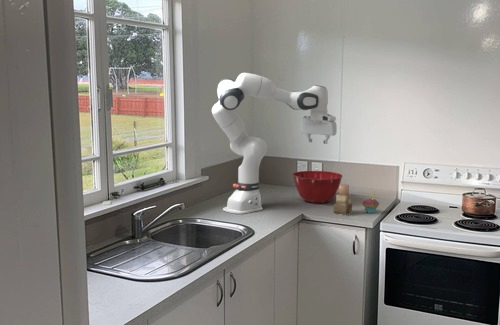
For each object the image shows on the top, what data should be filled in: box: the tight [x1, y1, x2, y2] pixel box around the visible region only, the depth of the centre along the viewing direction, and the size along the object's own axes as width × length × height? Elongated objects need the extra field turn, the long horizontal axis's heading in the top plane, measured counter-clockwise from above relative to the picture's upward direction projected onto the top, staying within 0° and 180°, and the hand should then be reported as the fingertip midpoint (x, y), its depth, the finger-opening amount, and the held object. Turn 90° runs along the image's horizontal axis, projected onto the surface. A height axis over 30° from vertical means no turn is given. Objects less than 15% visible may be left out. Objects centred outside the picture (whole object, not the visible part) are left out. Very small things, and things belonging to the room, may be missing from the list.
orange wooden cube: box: [338, 183, 350, 196], centre depth 268 cm, size 5×5×5 cm
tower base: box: [333, 203, 353, 216], centre depth 269 cm, size 7×7×5 cm
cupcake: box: [361, 190, 380, 214], centre depth 271 cm, size 9×8×12 cm
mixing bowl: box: [292, 170, 343, 204], centre depth 297 cm, size 28×28×15 cm
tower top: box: [335, 193, 352, 206], centre depth 268 cm, size 6×6×5 cm
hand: (317, 143), depth 272 cm, fingers open, 8 cm apart
